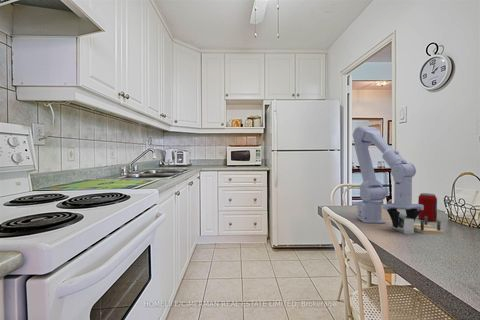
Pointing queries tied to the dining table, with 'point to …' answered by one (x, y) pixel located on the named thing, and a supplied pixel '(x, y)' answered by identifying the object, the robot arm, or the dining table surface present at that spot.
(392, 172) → the robot arm
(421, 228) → the caddy
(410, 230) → the drive
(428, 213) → the beverage can
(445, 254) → the dining table surface
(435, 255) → the dining table surface
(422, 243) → the dining table surface
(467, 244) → the dining table surface
